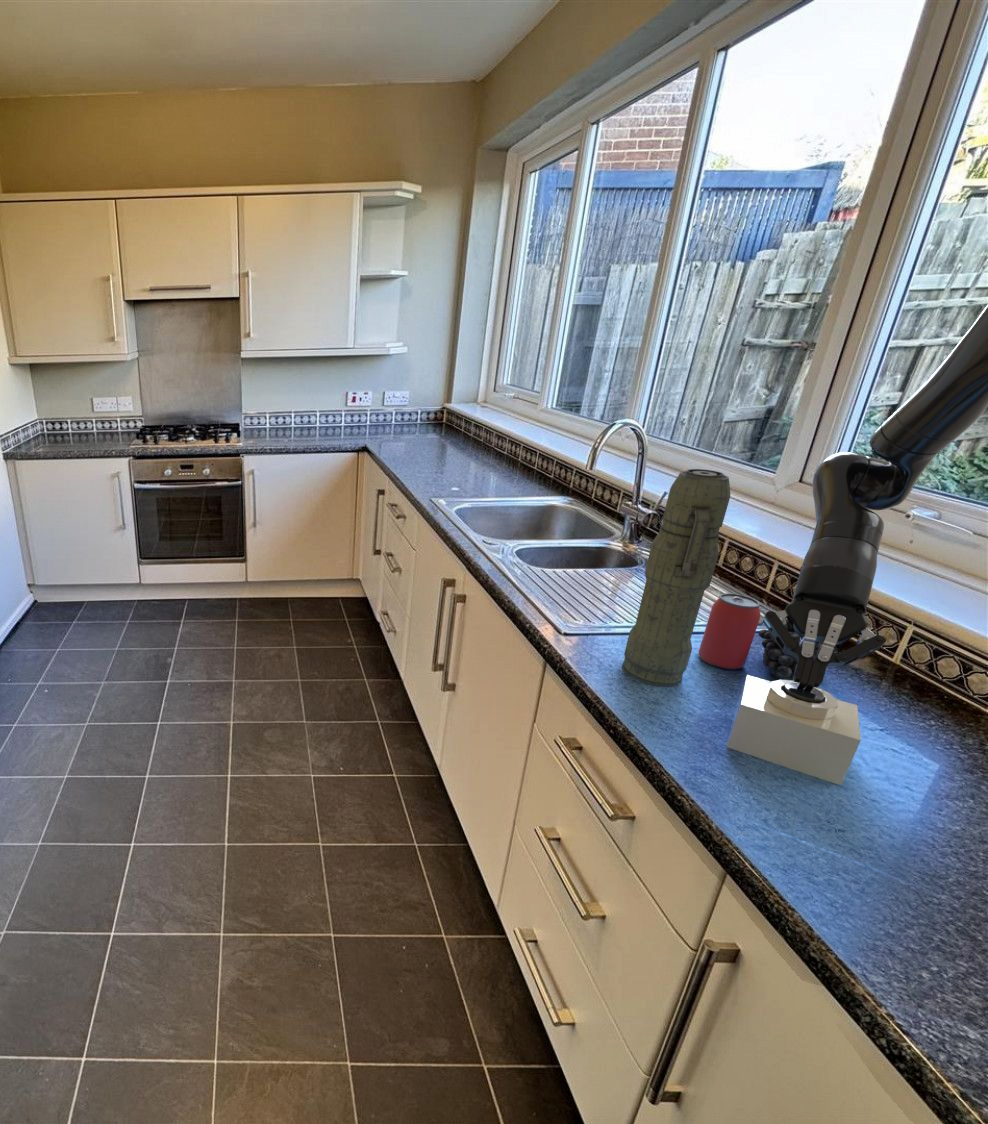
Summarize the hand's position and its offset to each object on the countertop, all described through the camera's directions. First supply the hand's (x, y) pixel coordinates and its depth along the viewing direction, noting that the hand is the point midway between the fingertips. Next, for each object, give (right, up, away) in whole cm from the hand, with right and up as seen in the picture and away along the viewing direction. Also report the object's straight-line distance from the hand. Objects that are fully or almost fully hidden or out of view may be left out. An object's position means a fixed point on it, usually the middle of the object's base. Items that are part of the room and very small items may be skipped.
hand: (805, 687), depth 83 cm
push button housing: (0, -9, +4) cm, 10 cm away
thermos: (-6, -2, +22) cm, 23 cm away
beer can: (+8, -1, +26) cm, 27 cm away
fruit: (+17, -2, +23) cm, 28 cm away
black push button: (0, -2, +1) cm, 3 cm away
